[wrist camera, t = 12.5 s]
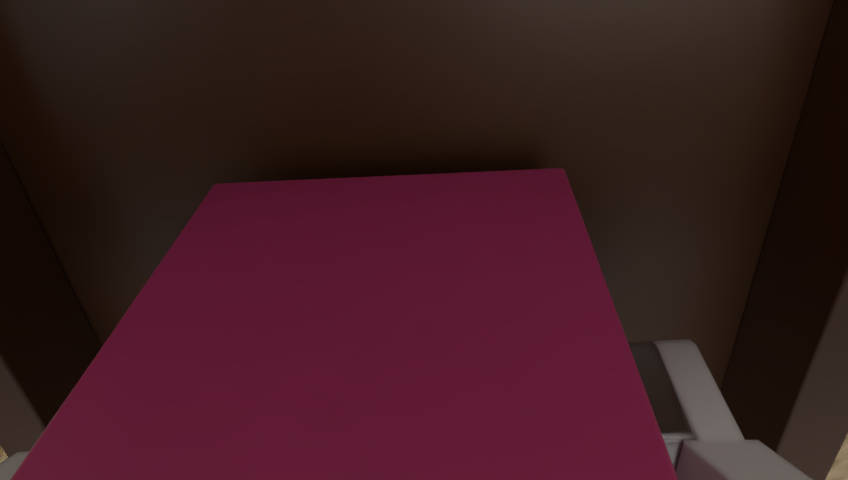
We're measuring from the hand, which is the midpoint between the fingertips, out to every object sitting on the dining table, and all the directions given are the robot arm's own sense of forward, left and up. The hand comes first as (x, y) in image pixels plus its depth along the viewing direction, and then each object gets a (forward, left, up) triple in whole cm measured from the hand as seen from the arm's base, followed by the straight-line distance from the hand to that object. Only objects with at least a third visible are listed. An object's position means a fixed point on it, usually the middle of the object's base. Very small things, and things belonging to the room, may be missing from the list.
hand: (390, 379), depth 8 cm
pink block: (0, 0, -2) cm, 2 cm away
